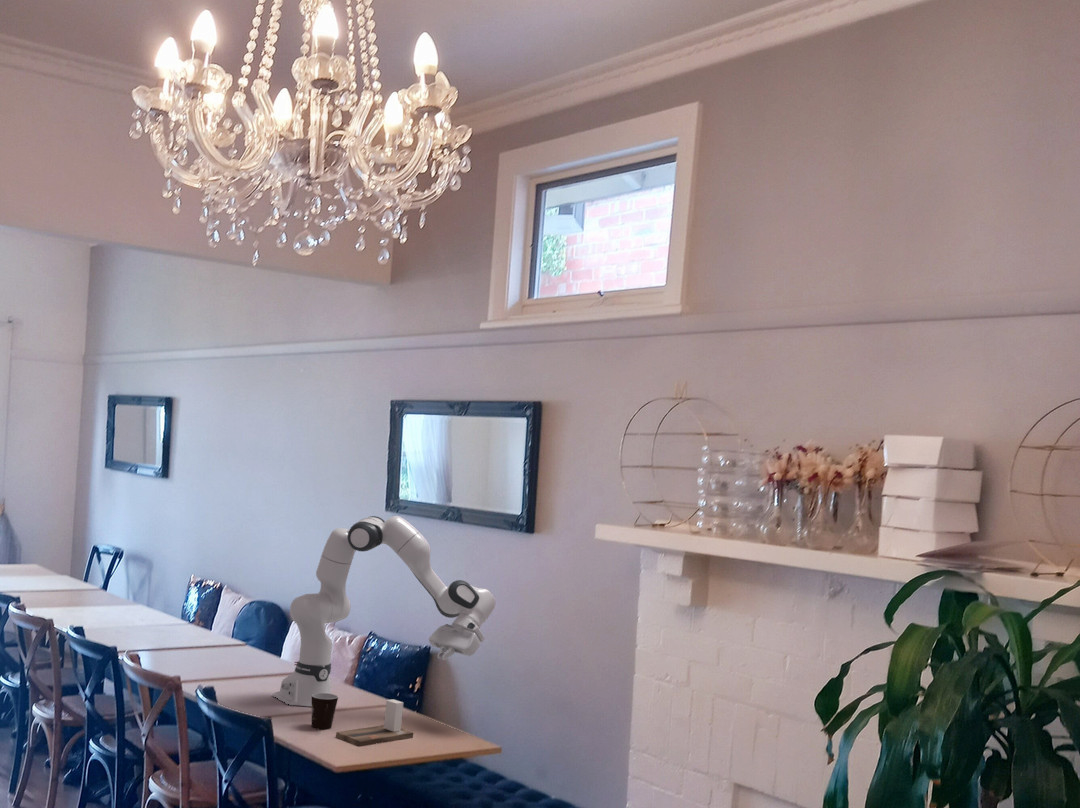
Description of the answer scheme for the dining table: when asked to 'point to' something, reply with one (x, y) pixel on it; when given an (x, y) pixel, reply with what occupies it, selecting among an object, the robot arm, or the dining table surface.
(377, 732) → the switch board
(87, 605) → the dining table surface
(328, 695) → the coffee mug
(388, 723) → the switch tab
